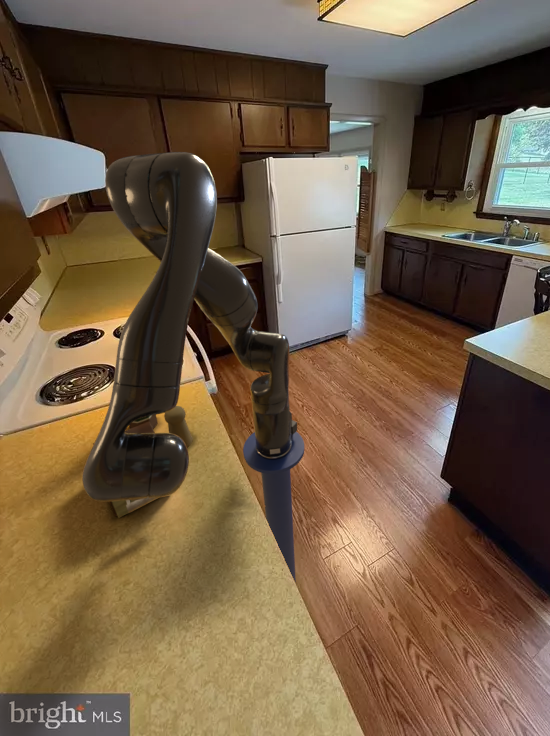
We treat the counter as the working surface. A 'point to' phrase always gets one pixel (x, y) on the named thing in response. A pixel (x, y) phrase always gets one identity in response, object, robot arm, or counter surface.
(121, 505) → the drawer
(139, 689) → the counter surface
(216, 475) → the counter surface
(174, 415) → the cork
